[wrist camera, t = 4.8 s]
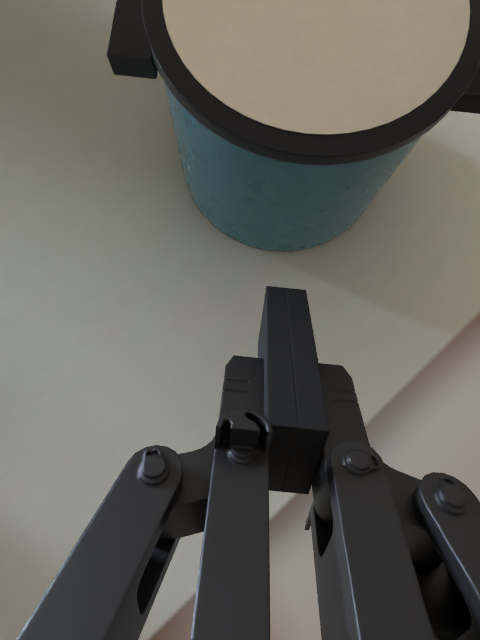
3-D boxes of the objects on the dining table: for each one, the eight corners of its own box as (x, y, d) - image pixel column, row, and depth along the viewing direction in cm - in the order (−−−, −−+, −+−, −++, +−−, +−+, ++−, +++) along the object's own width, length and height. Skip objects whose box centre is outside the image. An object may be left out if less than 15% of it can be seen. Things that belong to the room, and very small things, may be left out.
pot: (400, 270, 23) (540, 178, 12) (141, 244, 23) (67, 128, 12) (406, 87, 25) (529, -120, 15) (169, 62, 25) (125, -165, 14)
